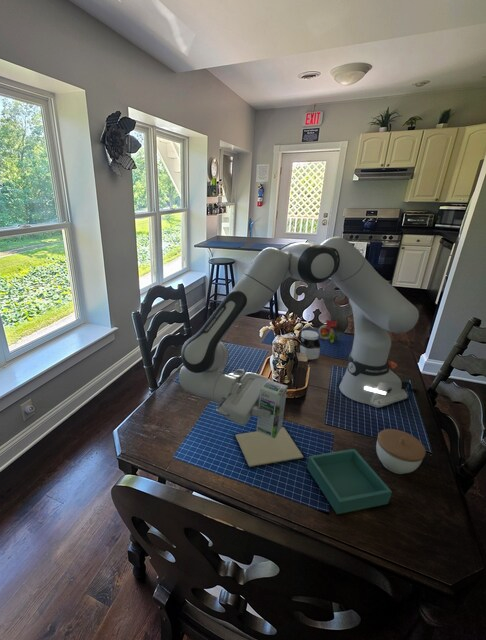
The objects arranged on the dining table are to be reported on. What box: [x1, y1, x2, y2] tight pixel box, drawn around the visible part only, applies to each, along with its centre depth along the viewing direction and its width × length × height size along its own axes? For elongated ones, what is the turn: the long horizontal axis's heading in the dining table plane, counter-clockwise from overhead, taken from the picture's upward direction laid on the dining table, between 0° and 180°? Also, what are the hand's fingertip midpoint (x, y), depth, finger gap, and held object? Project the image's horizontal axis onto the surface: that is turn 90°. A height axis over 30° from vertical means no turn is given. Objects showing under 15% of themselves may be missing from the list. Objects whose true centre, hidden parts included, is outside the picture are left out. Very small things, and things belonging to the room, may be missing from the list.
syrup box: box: [256, 379, 288, 438], centre depth 89 cm, size 6×6×14 cm
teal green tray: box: [306, 448, 393, 515], centre depth 81 cm, size 14×14×4 cm
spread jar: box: [300, 329, 321, 362], centre depth 139 cm, size 12×11×12 cm
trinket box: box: [375, 428, 427, 475], centre depth 86 cm, size 11×11×9 cm
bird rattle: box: [318, 319, 340, 344], centre depth 154 cm, size 6×11×9 cm
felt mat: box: [235, 426, 304, 468], centre depth 94 cm, size 16×12×1 cm
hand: (275, 406), depth 88 cm, fingers closed on syrup box, 6 cm apart
